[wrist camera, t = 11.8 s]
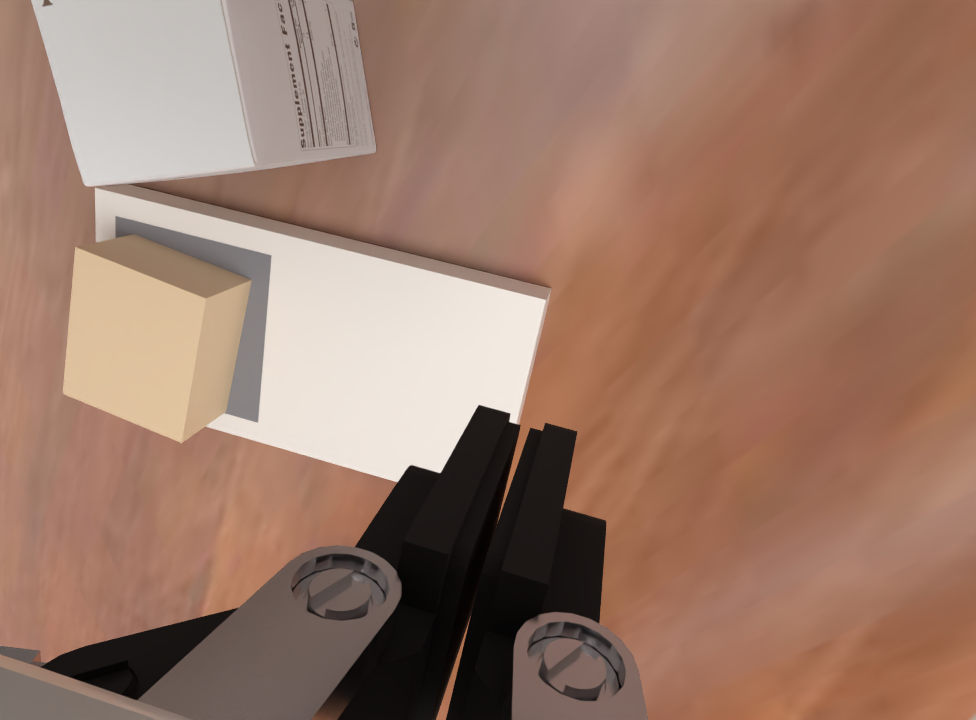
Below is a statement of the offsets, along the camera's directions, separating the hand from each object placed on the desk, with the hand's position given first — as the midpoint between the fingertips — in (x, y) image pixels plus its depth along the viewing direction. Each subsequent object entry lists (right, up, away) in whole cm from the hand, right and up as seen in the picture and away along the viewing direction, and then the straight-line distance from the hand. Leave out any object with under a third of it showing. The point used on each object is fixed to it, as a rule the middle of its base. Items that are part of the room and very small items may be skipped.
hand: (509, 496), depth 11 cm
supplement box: (-12, +19, +31) cm, 38 cm away
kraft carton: (-21, +5, +34) cm, 41 cm away
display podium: (-12, +4, +36) cm, 38 cm away
